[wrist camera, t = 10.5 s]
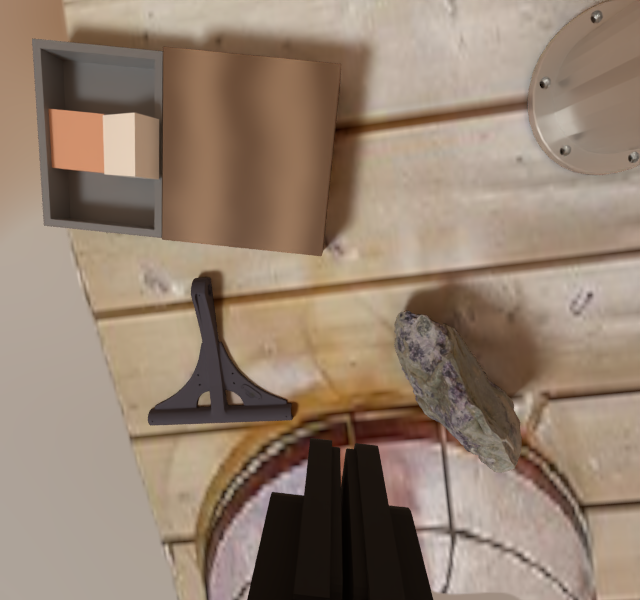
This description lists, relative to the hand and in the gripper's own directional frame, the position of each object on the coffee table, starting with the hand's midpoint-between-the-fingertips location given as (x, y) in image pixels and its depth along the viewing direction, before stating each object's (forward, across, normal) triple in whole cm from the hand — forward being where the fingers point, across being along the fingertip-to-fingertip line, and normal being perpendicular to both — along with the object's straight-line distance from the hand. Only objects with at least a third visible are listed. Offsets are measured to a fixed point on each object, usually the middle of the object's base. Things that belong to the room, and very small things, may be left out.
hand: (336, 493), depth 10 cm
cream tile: (+25, +17, -10) cm, 32 cm away
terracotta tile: (+25, +22, -10) cm, 35 cm away
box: (+27, +20, -10) cm, 35 cm away
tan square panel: (+27, +8, -10) cm, 30 cm away
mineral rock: (+27, -12, +7) cm, 31 cm away
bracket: (+28, +11, +8) cm, 31 cm away
